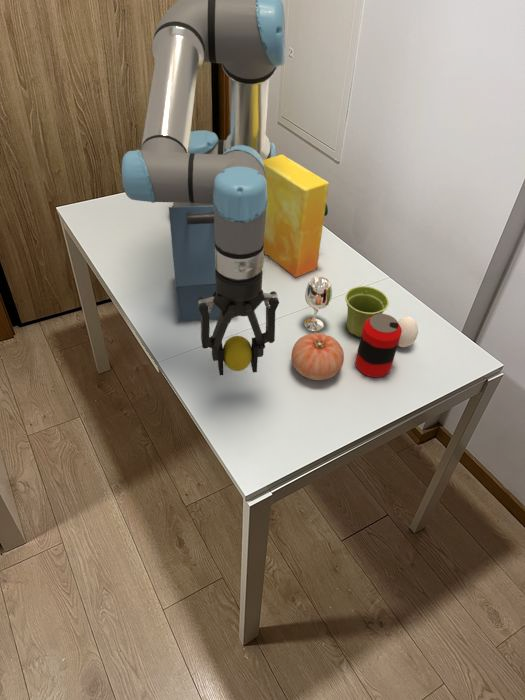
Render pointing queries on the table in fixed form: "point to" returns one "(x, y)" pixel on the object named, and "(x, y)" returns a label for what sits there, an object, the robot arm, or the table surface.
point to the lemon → (237, 353)
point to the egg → (407, 331)
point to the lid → (193, 244)
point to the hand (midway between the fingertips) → (237, 368)
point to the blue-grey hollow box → (194, 302)
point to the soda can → (378, 345)
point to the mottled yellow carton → (294, 214)
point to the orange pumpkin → (317, 356)
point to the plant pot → (363, 306)
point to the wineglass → (317, 300)
